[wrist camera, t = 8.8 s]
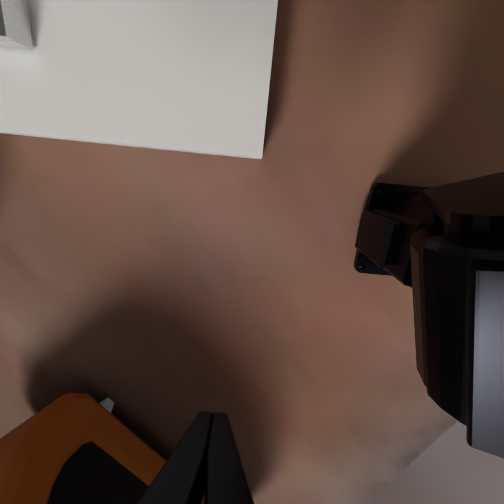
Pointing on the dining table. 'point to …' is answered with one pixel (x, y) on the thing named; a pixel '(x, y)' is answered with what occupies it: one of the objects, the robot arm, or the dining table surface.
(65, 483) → the orange tape measure
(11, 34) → the bolt
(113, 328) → the dining table surface
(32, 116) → the door lock board
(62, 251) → the dining table surface
